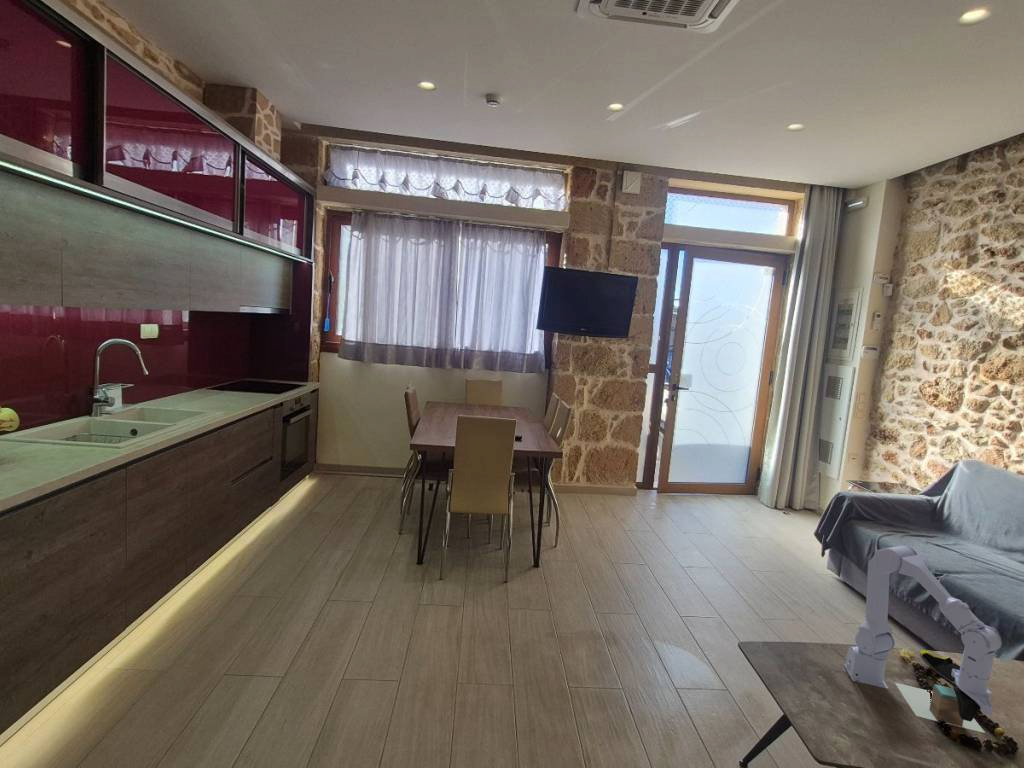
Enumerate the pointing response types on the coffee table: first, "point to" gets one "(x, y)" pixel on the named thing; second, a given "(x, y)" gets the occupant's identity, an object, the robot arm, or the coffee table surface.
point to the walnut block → (945, 705)
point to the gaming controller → (940, 665)
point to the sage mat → (928, 705)
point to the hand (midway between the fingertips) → (965, 718)
